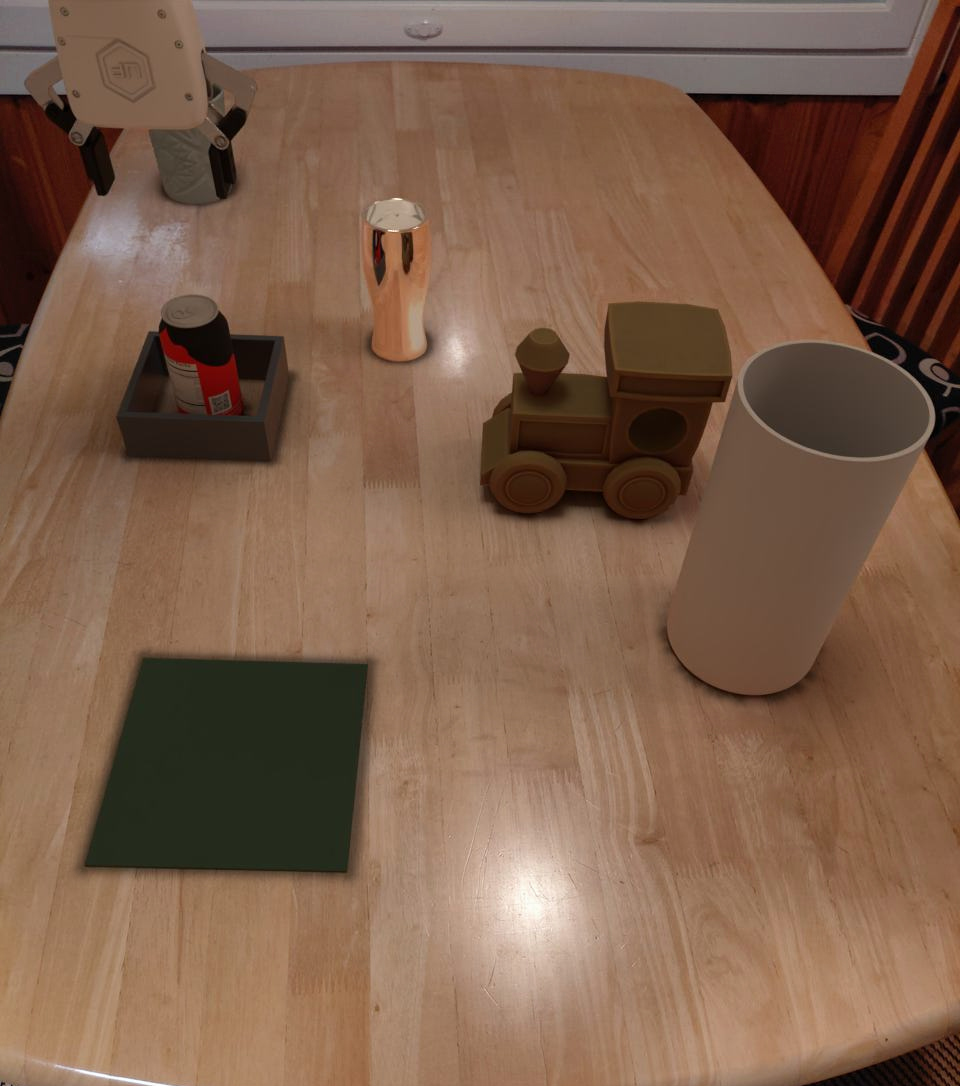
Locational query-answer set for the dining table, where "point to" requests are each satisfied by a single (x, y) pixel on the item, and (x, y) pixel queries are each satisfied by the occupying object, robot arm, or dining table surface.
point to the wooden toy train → (610, 412)
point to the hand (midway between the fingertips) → (166, 189)
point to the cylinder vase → (793, 509)
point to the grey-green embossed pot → (186, 160)
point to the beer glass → (397, 274)
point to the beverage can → (200, 356)
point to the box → (202, 431)
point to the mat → (234, 767)
